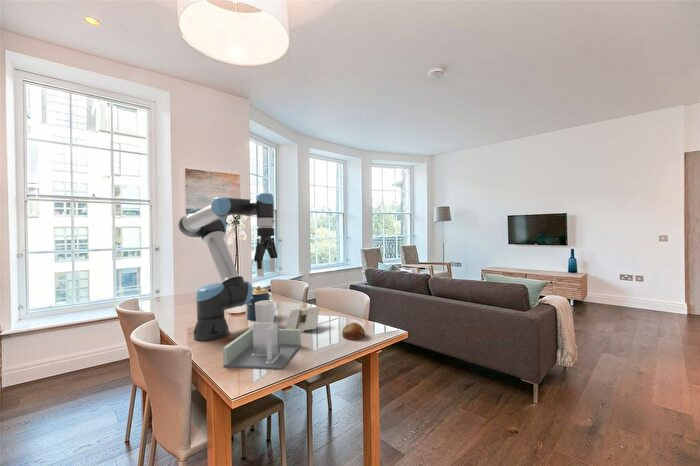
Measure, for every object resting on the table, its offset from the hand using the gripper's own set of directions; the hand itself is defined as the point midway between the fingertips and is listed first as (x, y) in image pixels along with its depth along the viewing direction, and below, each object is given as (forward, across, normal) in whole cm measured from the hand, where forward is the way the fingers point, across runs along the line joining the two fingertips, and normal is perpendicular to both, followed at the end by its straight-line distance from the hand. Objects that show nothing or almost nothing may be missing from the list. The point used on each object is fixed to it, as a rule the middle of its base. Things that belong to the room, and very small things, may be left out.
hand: (266, 274), depth 139 cm
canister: (+29, +30, +18) cm, 45 cm away
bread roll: (+29, +3, -39) cm, 49 cm away
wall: (+29, +13, -13) cm, 34 cm away
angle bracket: (+28, -24, -8) cm, 38 cm away
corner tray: (+29, -20, -7) cm, 36 cm away
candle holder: (+29, +15, +8) cm, 34 cm away
